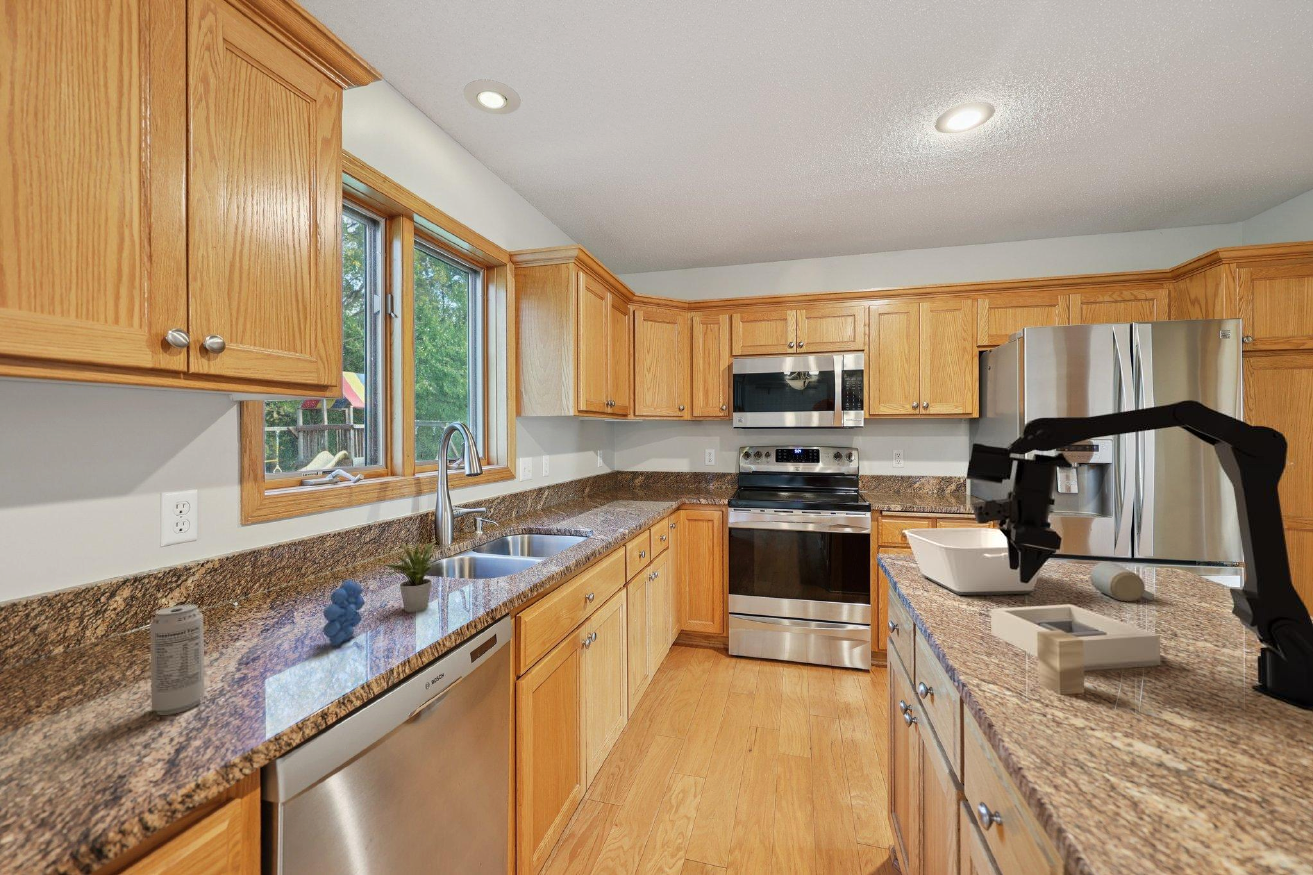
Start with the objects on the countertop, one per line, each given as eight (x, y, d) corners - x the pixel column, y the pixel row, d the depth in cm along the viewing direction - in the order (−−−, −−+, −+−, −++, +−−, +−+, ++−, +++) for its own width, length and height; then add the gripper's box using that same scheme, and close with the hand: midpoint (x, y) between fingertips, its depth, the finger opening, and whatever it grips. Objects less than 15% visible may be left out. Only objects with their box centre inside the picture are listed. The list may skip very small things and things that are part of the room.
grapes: (341, 630, 113) (340, 574, 114) (372, 630, 113) (371, 574, 113) (304, 652, 102) (303, 590, 102) (339, 652, 102) (338, 589, 102)
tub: (1077, 605, 120) (1076, 549, 120) (959, 608, 120) (958, 551, 120) (984, 569, 154) (983, 525, 154) (892, 571, 154) (891, 527, 154)
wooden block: (1084, 692, 80) (1083, 639, 80) (1060, 694, 80) (1058, 641, 80) (1061, 680, 84) (1060, 630, 84) (1038, 682, 84) (1037, 631, 84)
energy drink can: (207, 693, 86) (205, 600, 86) (201, 708, 81) (199, 610, 81) (156, 704, 82) (155, 607, 82) (147, 721, 77) (145, 618, 77)
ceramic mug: (1111, 602, 122) (1111, 569, 122) (1089, 592, 130) (1089, 560, 130) (1164, 605, 120) (1164, 571, 120) (1138, 594, 128) (1138, 562, 128)
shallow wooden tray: (1160, 665, 89) (1159, 635, 89) (1067, 672, 87) (1066, 641, 87) (1070, 629, 106) (1070, 604, 106) (991, 634, 104) (990, 608, 104)
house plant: (408, 597, 137) (407, 534, 137) (458, 598, 135) (457, 534, 136) (371, 615, 123) (370, 545, 123) (427, 617, 121) (425, 545, 121)
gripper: (973, 476, 105) (961, 554, 106) (987, 487, 88) (972, 578, 89) (1040, 486, 100) (1027, 566, 101) (1069, 499, 83) (1053, 595, 84)
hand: (1018, 575), depth 94 cm, fingers open, 9 cm apart
